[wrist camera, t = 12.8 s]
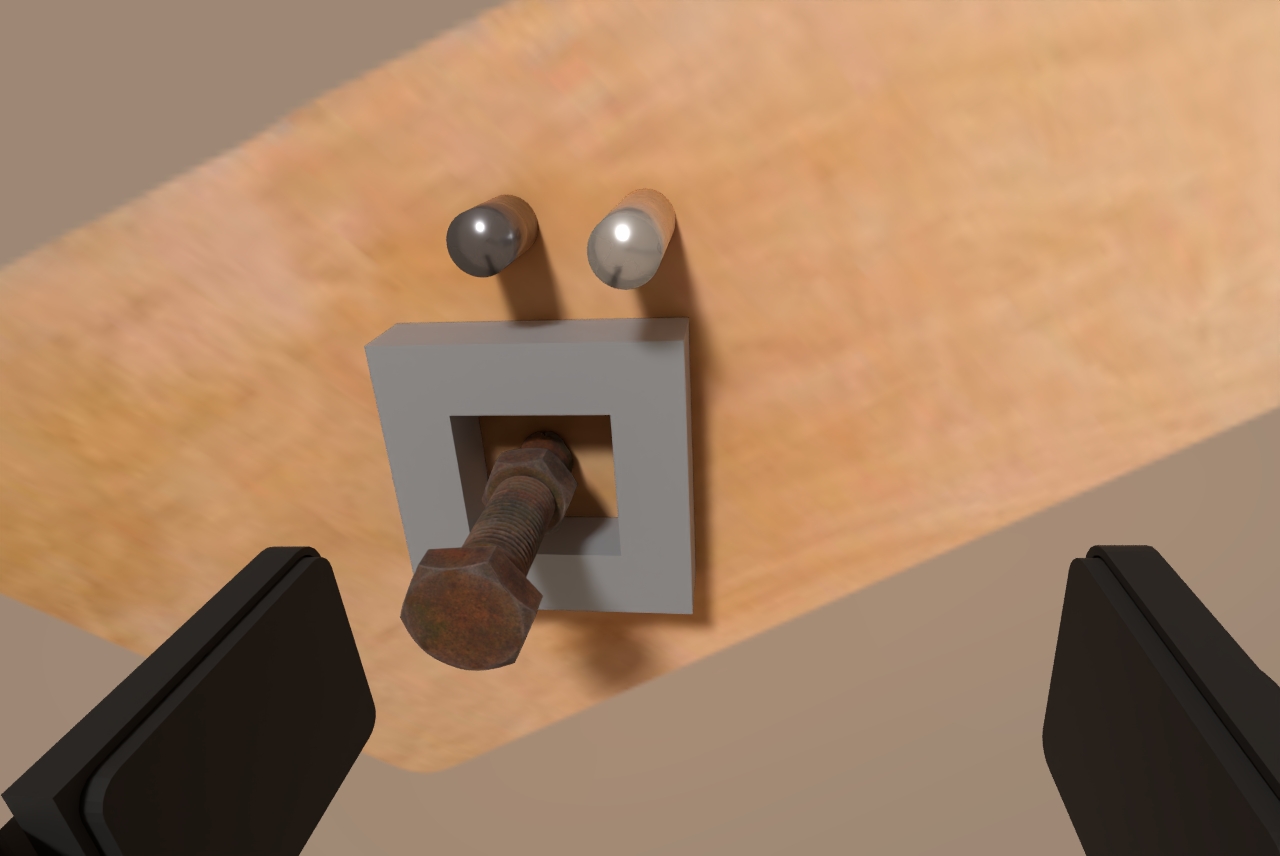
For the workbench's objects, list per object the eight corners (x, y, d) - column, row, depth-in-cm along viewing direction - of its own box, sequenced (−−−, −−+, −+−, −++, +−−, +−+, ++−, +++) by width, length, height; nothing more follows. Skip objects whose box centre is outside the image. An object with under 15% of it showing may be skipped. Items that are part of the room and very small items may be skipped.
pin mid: (674, 187, 36) (659, 212, 29) (676, 249, 37) (662, 288, 30) (613, 190, 37) (584, 215, 29) (617, 251, 38) (590, 290, 31)
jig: (688, 317, 39) (683, 340, 35) (695, 572, 45) (692, 614, 42) (396, 323, 41) (364, 346, 37) (444, 566, 47) (420, 606, 44)
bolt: (509, 494, 45) (411, 672, 31) (491, 418, 43) (379, 572, 29) (604, 488, 44) (546, 669, 30) (590, 410, 42) (521, 565, 28)
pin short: (534, 193, 37) (506, 208, 33) (541, 254, 38) (515, 276, 34) (476, 196, 38) (441, 211, 33) (484, 256, 39) (452, 278, 34)
